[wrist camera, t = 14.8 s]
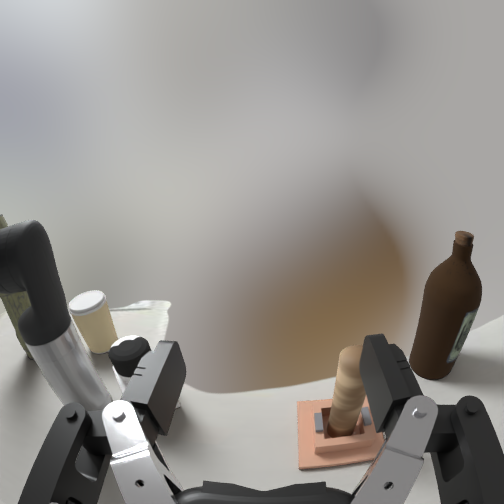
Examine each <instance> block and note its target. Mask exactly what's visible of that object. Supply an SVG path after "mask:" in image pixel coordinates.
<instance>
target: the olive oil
mask: <svg viewBox="0 0 504 504" xmlns="http://www.w3.org/2000/svg"><path fill="white" fill-rule="evenodd" d="M473 239H474V236H473V235H472V234H471V233H469V232H465V231H457V232H456V234H455V240H454V244H453V252H452V255H451V256H450V257H449V258H448V259H447V260H445V261H444V262H443V263H441V264H440V265H439V266H437V267H436V268H435V269H434V270H433V271H432V272H431V274H430V276H429V278H428V280H427V282H426V285H425V289H424V295H423V301H422V307H421V313H420V318H419V323H418V327H417V332H416V336H415V340H414V344H413V348H412V351H411V354H410V358H409V363H410V366H411V368H412V370H413V371H414V372H415V373H416V374H418V375H419V376H421V377H423V378H426V379H432V380H434V379H440V378H443V377H445V376H446V375H448V374H449V372H450V371H451V369H452V367H453V365H454V363H455V361H456V359H457V357H458V355H459V353H460V351H461V349H462V346H463V344H464V342H465V340H466V338H467V335H468V333H469V331H470V328H471V326H472V323H473V321H474V319H475V316H476V313H477V311H478V308H479V306H480V302H481V296H482V285H481V281H480V278H479V276H478V274H477V272H476V270H475V268H474V266H473V264H472V262H471V253H472V248H473V244H472V242H473Z"/></svg>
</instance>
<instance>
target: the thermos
mask: <svg viewBox="0 0 504 504" xmlns="http://www.w3.org/2000/svg"><path fill="white" fill-rule="evenodd" d="M5 227H8V226H7V223H6V221H5V219H4V217H3V215H0V229H2V228H5ZM0 298H1V299H2V301H3V304H4V306H5V308H6V311H7V313H8V315H9V317H10V320H11V322H12V324H13V326H14V328H15V330H16V336H17V338H18V340H19V342H20V344H21V346H22V347H23V349H24V350H25V351H26V353H27V355H28V357H29V358H30V359H32V360H34V358H33V356H32V355H31V353H30V351H29V349H28V347H27V345H26V344H25V342H24V340H23V338H22V336H21V334H20V332H19V329H18V320H19V318H20V316H21V315H22V313H23V312H24V311H25V310H26V309H27V308H29V307H30V306H31V303H30V300H29V297H28V294H27V291H23V292H18V293H12V294H2V293H0Z"/></svg>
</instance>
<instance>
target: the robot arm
mask: <svg viewBox="0 0 504 504" xmlns="http://www.w3.org/2000/svg"><path fill="white" fill-rule="evenodd" d="M23 291H27V294H28V297H29V300H30V303H31V306H30V307H29V308H27V309H26V310H25V311H24V312H23V313H22V315H21V316H20V318H19V320H18V329H19V332H20V334H21V336H22V338H23V340H24V342H25V344H26V345H27V347H28V349H29V351H30V353H31V355H32V356H33V358H34V360H35V361H36V363H37V365H38V366H39V368H40V370H41V371H42V373H43V376H44V377H45V379H46V380H47V382H48V383H49V385H50V386H51V388H52V389H53V391H54V392H55V394H56V395H57V396H58V398H59V399H60V401H61V402H62V403H63V405H64V407H62V409H61V410H60V412H59V414H58V415H57V417H56V419H55V421H54V423H53V425H52V427H51V429H50V431H49V433H48V435H47V437H46V439H45V441H44V443H43V445H42V447H41V449H40V452H39V454H38V456H37V458H36V460H35V462H34V465H33V467H32V469H31V472H30V474H29V476H28V479H27V481H26V484H25V486H24V489H23V491H22V494H21V497H20V499H19V502H18V504H97V502H98V499H99V495H100V492H101V489H102V485H103V482H104V479H105V476H106V473H107V470H108V467H109V464H111V467H112V470H113V473H114V476H115V479H116V481H117V484H118V486H119V489H120V492H121V494H122V496H123V499H124V501H125V504H404V502H405V500H406V498H407V496H408V494H409V492H410V490H411V488H412V486H413V484H414V482H415V480H416V478H417V476H418V474H419V472H420V470H421V467H422V465H423V462H424V458H422V456H423V453H425V452H430V453H431V457H432V461H433V466H434V470H435V475H436V479H437V484H438V490H439V495H440V501H441V504H504V454H503V451H502V448H501V445H500V443H499V440H498V437H497V435H496V432H495V430H494V427H493V425H492V422H491V420H490V418H489V415H488V413H487V411H486V409H485V407H484V404H483V403H482V401H481V400H480V399H478V398H477V397H474V396H465V397H463V398H461V399H460V400H459V401H458V403H457V404H456V405H438V404H436V403H435V402H434V400H432V399H431V398H429V397H427V396H424V395H423V393H422V391H421V389H420V387H419V384H418V382H417V380H416V378H415V376H414V374H413V372H412V369H410V365H409V363H408V361H407V359H406V357H405V355H404V353H403V351H402V350H401V349H400V348H399V347H398V346H396V345H395V344H388V342H387V340H386V338H385V336H384V335H383V334H376V335H368V336H366V337H365V339H364V344H363V348H362V353H361V357H360V362H359V370H360V375H361V379H362V382H363V385H364V389H365V392H366V396H367V399H368V403H369V407H370V410H371V414H372V418H373V422H374V426H375V430H376V433H381V432H385V434H386V439H385V441H384V443H383V444H382V446H381V448H380V450H379V452H378V453H377V455H376V457H375V459H374V460H373V462H372V464H371V465H370V467H369V469H368V470H367V472H366V473H365V475H364V476H363V478H362V479H361V481H360V482H359V483H358V485H357V486H356V488H355V489H354V490H353V492H352V493H351V494H350V493H347V492H345V491H342V490H339V489H335V488H329V487H326V482H317V483H305V484H294V485H290V486H286V487H282V488H278V489H273V490H269V491H259V490H255V489H251V488H247V487H243V486H239V485H236V484H231V483H219V482H210V481H203V486H202V487H195V488H191V489H187V490H184V489H183V488H182V486H181V485H180V483H179V482H178V480H177V479H176V478H175V476H174V475H173V473H172V471H171V469H170V467H169V466H168V464H167V462H166V460H165V458H164V456H163V454H162V452H161V450H160V448H159V446H158V444H157V442H156V438H157V435H158V434H160V435H166V436H167V433H168V430H169V427H170V424H171V421H172V417H173V414H174V411H175V408H176V405H177V402H178V399H179V396H180V393H181V390H182V387H183V384H184V381H185V377H186V366H185V363H184V359H183V357H182V353H181V351H180V347H179V344H178V343H177V342H176V341H159V343H158V344H157V346H156V348H155V350H154V351H149V352H148V353H147V354H145V355H144V356H143V357H142V358H141V360H140V362H139V364H138V366H137V368H136V370H135V371H134V375H132V377H131V379H130V381H129V383H128V385H127V387H126V389H125V391H124V393H123V395H122V397H121V399H120V401H115V402H112V399H111V395H110V393H109V392H108V390H107V388H106V387H105V385H104V383H103V382H102V380H101V378H100V376H99V374H98V373H97V371H96V369H95V367H94V365H93V363H92V361H91V360H90V358H89V356H88V354H87V352H86V350H85V348H84V346H83V344H82V342H81V339H80V337H79V335H78V333H77V331H76V329H75V326H74V324H73V322H72V320H71V317H70V315H69V312H68V309H67V304H66V299H65V294H64V291H63V288H62V285H61V282H60V278H59V275H58V271H57V267H56V263H55V259H54V255H53V251H52V247H51V244H50V240H49V238H48V235H47V233H46V231H45V229H44V227H43V226H42V225H41V224H40V223H39V222H38V221H35V220H28V221H24V222H21V223H18V224H14V225H12V226H9V227H5V228H2V229H0V293H2V294H12V293H18V292H23ZM81 446H82V447H81ZM80 448H81V450H80ZM79 451H80V452H79ZM78 453H79V455H78ZM112 455H113V458H112ZM77 456H78V457H77ZM76 458H77V460H76ZM75 461H76V462H75Z"/></svg>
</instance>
